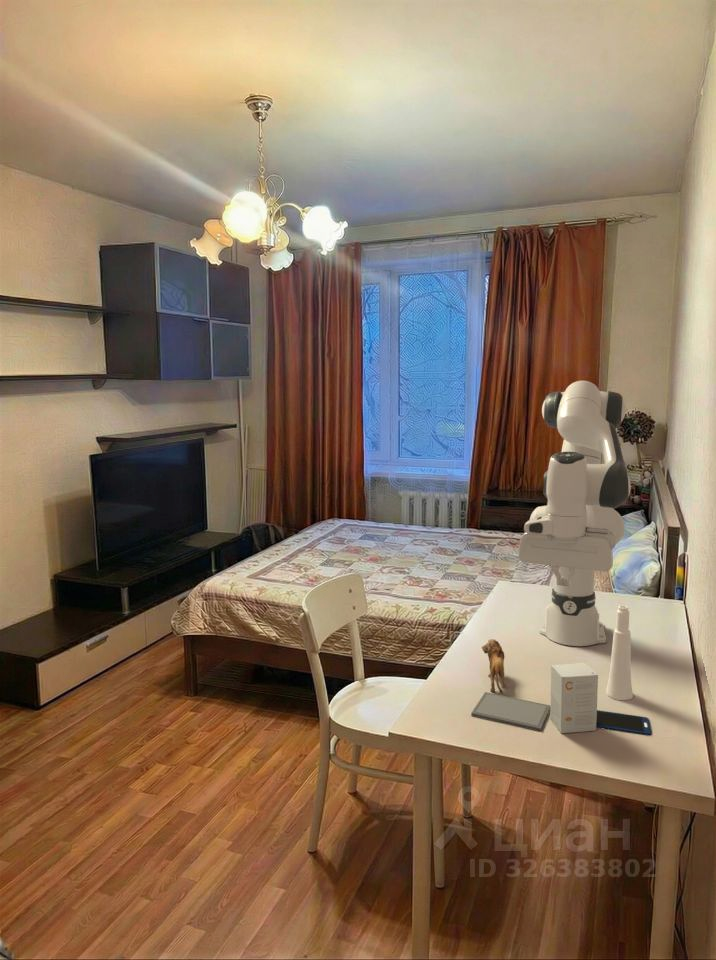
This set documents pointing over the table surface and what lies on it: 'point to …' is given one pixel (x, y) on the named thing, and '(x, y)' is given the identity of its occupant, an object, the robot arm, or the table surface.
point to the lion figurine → (495, 663)
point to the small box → (573, 697)
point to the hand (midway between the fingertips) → (563, 585)
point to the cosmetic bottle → (621, 659)
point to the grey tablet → (512, 711)
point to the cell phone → (623, 722)
